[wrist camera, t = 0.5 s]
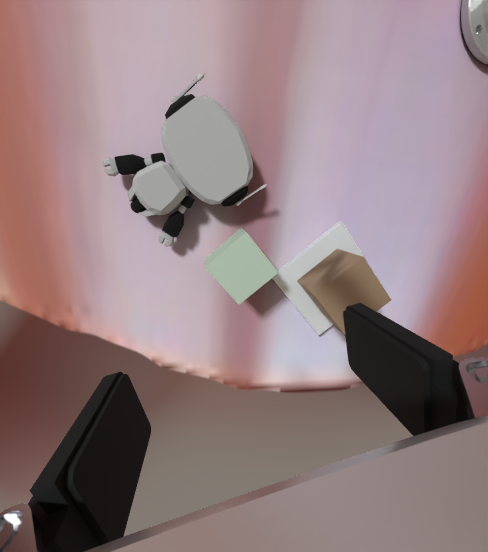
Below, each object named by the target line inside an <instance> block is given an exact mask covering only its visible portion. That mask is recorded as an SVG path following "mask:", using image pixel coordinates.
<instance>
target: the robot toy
mask: <svg viewBox="0 0 488 552" xmlns="http://www.w3.org/2000/svg"><path fill="white" fill-rule="evenodd" d="M204 74H205V73H200V74H199V75H198V76H197V78H196V79H195V80H194V81H193V82H192V83H191V84H190V85H189V86H188V87H187V88H186V89H185V90H184V91H183V92H182V93H181V94H180V95H179V96H178V97H175V98H174V99H173V100H172V102H173V104H171V105H170V107H169V109H168V111H167V112H166V114H165V116H166V121H165V123H164V125H163V127H162V142H163V146H164V149H165V152H166V154H167V157H168V159H169V161H170V163H171V165H170V164H168V163H166V161H165V157H164V154H163V153H156V154H152V155H151V158H146V159H144V158H142V157H139V156H136V155H133V154H131V155H124V156H117V157H115V159H113V158H108V159H105V160H104V161H103V166H105V167H107V166H111V169H104V170H105V172H106V173H107V174H108V175H109V176H116V175H117V174H119V173H120V174H121V175H128V174H135V173H137V174H136V175H135V177H134V178H133V185H132V186H131V188H130V190H129V192H128V197H129V201H133V202H132V203H131V208H132V210H133V211H134V212H135V213H140V214H142V215H143V216H145V217H147V216H152V215H165V214H169V213H172V212H174V211H175V210H176V209H177V208H178V207H179V206H180V205H181V206H180V208H179V210H178V211H176V212H174V213H173V214H172V215H170V216H169V217H168V219H167V221H166V223H165V225H164V227H163V229H162V230H163V231H164V232H162V233H161V234H160V235H159V242H160V243H161V244H163V242H164V240H165V239H167V240H168V241H167V242H166V244H165V246H171V245H172V244H173V243H174V237H177V236H178V234H179V232H180V230H181V229H182V227H183V225H184V212H185V211H186V209H187V208H191V206H192V204H193V202H194V201H195V200H194V199H192V198H191V197H189V190H190V191H191V192H192V193H193V194H194V195H195V196H196V197H197V198H199V199H200V200H202V201H203V202H206V203H208V204H211V205H215V204H222V205H223V206H230V205H234V204H235V203H236V205H237V206H238V205H239V204H241V203H242V201H244V200H245V199H247V198H248V197H250V196H252V195H253V194H255V193H256V192H258V191H259V190H261V189H263V188H264V187H265V186H266V185H267V184H265V185H263V186H261V187H260V188H259V189H257V190H256V191H254V192H253V193H251V194H250V195H248V196H247V197H245V198H244V196H245V195H246V193H247V191H248V184H249V182H250V180H251V179H252V176H253V162H252V158H251V154H250V150H249V147H248V145H247V142H246V140H245V137H244V134H243V132H242V130H241V128H240V127H239V126H238V124H237V123H236V122H235V120H234V119H233V118H232V116H231V115H230V114H229V112H228V111H227V110H226V109H225V108H224V107H223V106H222V105H221V104H220V103H218V102H217V101H216V100H214V99H212V98H210V97H208V96H206V95H205V96H200V97H195V96H193V95H192V94H190V95H187V96H184V95H185V94H186V93H187V92H188V91H189V90H190V89H191V88H192V87H193V86H194V85H195V84H196V83H197V82H198V81H200V80H201V79H202V78H203V77H204ZM243 198H244V199H243ZM241 199H242V200H241ZM146 209H147V210H148V211H145V210H146ZM143 211H144V212H143Z"/></svg>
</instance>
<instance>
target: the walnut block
mask: <svg viewBox="0 0 488 552" xmlns="http://www.w3.org/2000/svg"><path fill="white" fill-rule="evenodd" d="M297 281H298V283H299V284H300V285H301V286H302V288H303V289H304V290H305V292H306V293H307V294H308V296H309V297H310V298H311V299H312V301H313V302H314V303H315V305H316V306H317V307H318V308H319V310H320V311H321V312H322V314H323V315H324V316H325V317H326V318H327V319H329V320H330V321H331V322H332V323H333V324H334V325H335V326H336V327H337V328H338V329H339V330H340V331H341V332H342V333H343V334H344V335H345V327H344V319H343V311H345V310H346V307H347V306H350V305H353V304H357V303H362V304H364V305H366V306H367V307H369V308H371V309H373V310H374V311H378V310H379V309H380V308H382V307H383V306H384V305H386V304H387V303H388V302H390V301H391V299H390V297H389V296H388V294H387V293H386V291H385V289H384V288H383V286H382V285H381V283H380V281H379V280H378V278H377V277H376V275H375V274H374V272H373V270H372V269H371V267H370V266H369V264H368V263H367V261H366V259H365V258H364V257H362V256H359V255H356V254H353V253H349V252H346V251H343V250H340V249H336V250H335V251H333V252H332V253H331V254H330V255H328V256H327V257H326V258H325V259H323V260H322V261H321V262H320V263H318V264H317V265H316V266H315V267H313V268H312V269H311V270H310V271H308V272H307V273H306V274H305V275H303V276H302V277H301V278H300V279H298V280H297Z"/></svg>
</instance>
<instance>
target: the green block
mask: <svg viewBox="0 0 488 552" xmlns="http://www.w3.org/2000/svg"><path fill="white" fill-rule="evenodd" d="M205 268H206V269H207V270H208V272H209V273H210V274H211V275H212V276H213V277H214V278H215V279H216V280H217V281H218V282H219V284H220V285H221V286H222V287H223V288H224V289H225V290H226V291H227V292H228V293H229V294H230V296H231V297H232V298H233V299H234V300H235V301H236V302H237V303H238V304H240V303H242V302H243V301H244V300H245V299H247V298H248V297H249V296H250V295H252V294H253V293H254V292H255V291H257V290H258V289H259V288H260V287H262V286H263V285H264V284H265V283H266V282H268V281H269V280H270V279H271V278H273V277H274V276H275V275H276V274H278V273H279V272H278V271H277V270H276V269H275V267H274V266H273V265H272V264H271V262H270V261H269V260H268V259H267V257H266V256H265V255H264V254H263V252H262V251H261V250H260V249H259V247H258V246H257V245H256V243H255V242H254V241H253V240H252V238H251V237H250V236H249V235H248V233H247V232H245V231H244V230H243V229H241V228H240V229H239V230H238V231H237V232H236V233H234V234H233V235H232V236H231V237H230V238H228V239H227V240H226V241H225V242H224V243H223V244H221V245H220V246H219V247H218V248H217V249H215V250H214V251H213V252H212V253H211V254H209V255H208V256H207V257H206V263H205Z"/></svg>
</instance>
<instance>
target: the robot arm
mask: <svg viewBox="0 0 488 552" xmlns="http://www.w3.org/2000/svg"><path fill="white" fill-rule="evenodd" d="M461 23H462V31H463V35H464V38H465V42H466V44H467V46H468V48H469V50H470V51H471V53H472V54H473V55H474V56H475V57H476V58H477V59H478V60H480V61H481V62H482V63H484V64H487V65H488V0H462V7H461ZM343 319H344V327H345V336H346V344H347V352H348V361H349V365H350V367H351V369H352V370H353V372H354V373H355V374H356V375H357V376H358V377H359V378H360V379H361V380H362V381H363V382H364V383H365V384H366V386H367V387H368V388H369V389H370V390H371V391H372V392H373V393H374V394H375V395H376V396H377V397H378V398H379V399H380V400H381V401H382V403H383V404H384V405H385V406H386V407H387V408H388V409H389V410H390V411H391V412H392V413H393V414H394V416H395V417H396V418H397V419H398V420H399V421H400V422H401V423H402V424H403V425H404V426H405V427H406V428H407V429H408V431H409V432H410V433H411V434H412V435H413V437H410V438H407V439H404V440H401V441H398V442H395V443H392V444H389V445H386V446H383V447H380V448H377V449H374V450H371V451H369V452H365V453H363V454H360V455H357V456H354V457H351V458H348V459H345V460H342V461H339V462H336V463H333V464H330V465H327V466H324V467H321V468H319V469H316V470H313V471H310V472H307V473H304V474H301V475H298V476H295V477H293V478H289V479H287V480H284V481H281V482H278V483H275V484H272V485H269V486H266V487H264V488H261V489H258V490H255V491H252V492H249V493H246V494H243V495H240V496H238V497H235V498H232V499H229V500H226V501H223V502H221V503H218V504H215V505H212V506H209V507H206V508H203V509H201V510H198V511H195V512H192V513H189V514H186V515H184V516H181V517H178V518H175V519H172V520H169V521H167V522H164V523H161V524H158V525H156V526H153V527H150V528H147V529H144V530H141V531H138V532H136V533H133V534H130V535H127V536H124V532H125V528H126V524H127V521H128V517H129V513H130V509H131V506H132V502H133V498H134V494H135V491H136V487H137V483H138V480H139V476H140V472H141V468H142V464H143V461H144V457H145V453H146V450H147V446H148V442H149V438H150V434H151V426H150V423H149V421H148V418H147V416H146V414H145V412H144V409H143V407H142V405H141V403H140V401H139V399H138V396H137V394H136V392H135V390H134V387H133V385H132V383H131V380H130V378H129V376H128V375H127V374H123V373H122V372H118V373H114V374H111V375H107V376H105V377H104V378H103V379H102V381H101V382H100V384H99V385H98V387H97V389H96V390H95V391H94V393H93V395H92V396H91V398H90V399H89V401H88V402H87V404H86V405H85V407H84V409H83V410H82V411H81V413H80V414H79V416H78V418H77V419H76V421H75V422H74V424H73V425H72V427H71V428H70V430H69V431H68V433H67V434H66V436H65V437H64V439H63V441H62V442H61V444H60V445H59V447H58V448H57V450H56V451H55V453H54V454H53V456H52V458H51V459H50V461H49V462H48V464H47V465H46V467H45V468H44V470H43V471H42V473H41V474H40V476H39V477H38V479H37V480H36V482H35V483H34V485H33V486H32V488H31V490H30V492H31V493H32V494H33V497H32V498H31V500H30V502H29V503H28V504H24V503H21V504H18V505H14V506H12V507H10V508H8V509H6V510H4V511H2V512H1V513H0V552H488V358H479V357H475V358H468V359H465V360H463V361H462V362H461V363H460V364H459V363H458V362H456V361H454V360H453V355H452V354H450V353H448V352H446V351H445V350H443V349H441V348H439V347H438V346H436V345H434V344H432V343H431V342H429V341H427V340H425V339H423V338H422V337H420V336H418V335H416V334H415V333H413V332H411V331H409V330H408V329H406V328H404V327H402V326H401V325H399V324H397V323H395V322H394V321H392V320H390V319H388V318H387V317H385V316H383V315H381V314H380V313H378V312H376V311H374V310H373V309H371V308H369V307H367V306H366V305H364V304H362V303H357V304H353V305H350V306H347V307H346V310H345V311H343ZM123 536H124V537H123Z"/></svg>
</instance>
